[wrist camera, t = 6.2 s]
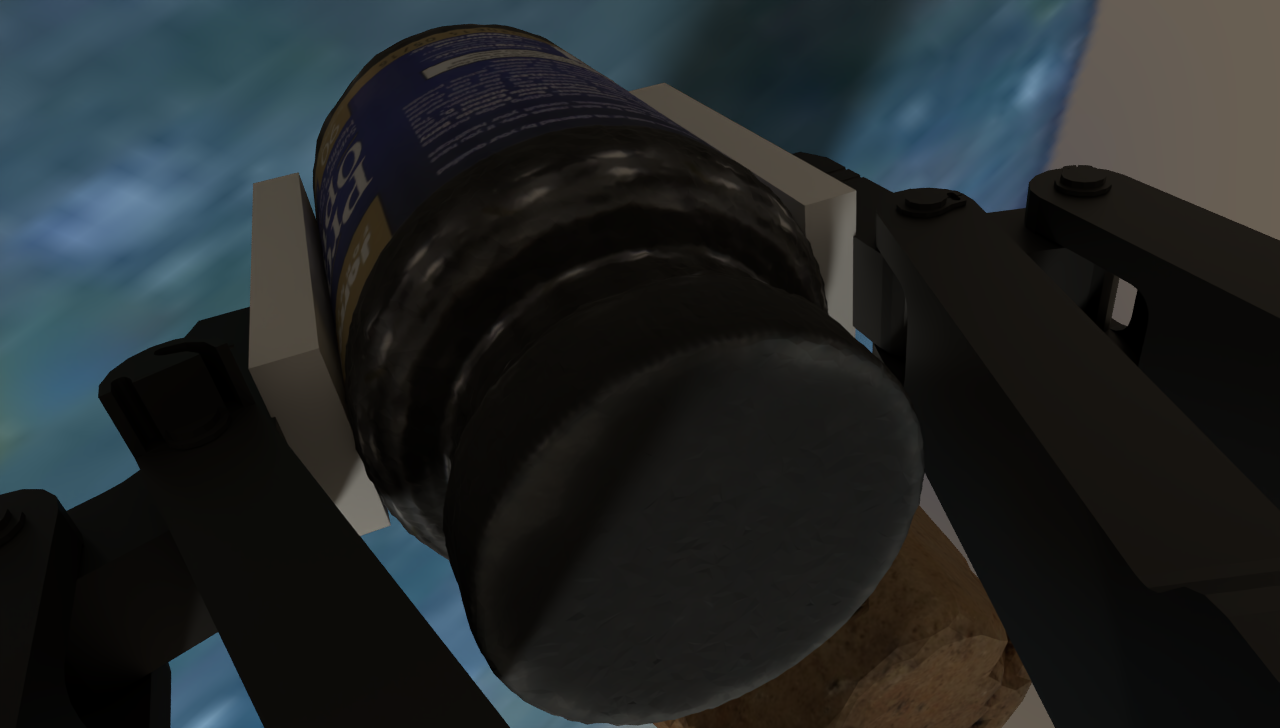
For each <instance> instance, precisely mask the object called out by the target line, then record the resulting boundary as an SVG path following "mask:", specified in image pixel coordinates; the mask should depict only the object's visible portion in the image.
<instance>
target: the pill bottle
mask: <svg viewBox="0 0 1280 728" xmlns="http://www.w3.org/2000/svg"><path fill="white" fill-rule="evenodd" d="M313 192H314V201H315V211H316V221H317V226H318V230H319V236H320V241H321V247H322V254H323V261H324V268H325V274H326V278H327V285H328V290H329V296H330V302H331V309H332V316H333V322H334V327H335V333H336V339H337V345H338V351H339V356H340V363H341V370H342V374H343V379H344V386H345V391H346V399H345V401H346V404H347V407H348V414H349V420H350V423H351V426H352V431H353V436H354V441H355V449H356V451H357V453H358V455H359V456H360V458H361V460H362V462H363V464H364V467H365V471H366V474H367V476H368V478H369V480H370V481H371V482H372V483H373V484H374V487H375V489H376V491H377V493H378V495H379V497H380V499H381V502H382V503H383V504H384V505H385V506H386V507H387V508H388V510H389V511H390V513H391V515H393V516H394V517H396V518H397V519H398V520H399V521H400V522H401V524H402V525H403V527H404V528H405V529H406V530H407V531H408V533H409V534H411V535H414V536H415V537H416V538H417V539H418V540H419V541H420V542H422V543H423V544H425V545H427V546H428V547H429V548H431V549H433V550H434V551H435V552H437V553H438V554H440V555H442V556H443V557H445V558H446V559H448V560H449V561H450V564H451V567H452V570H453V573H454V575H455V578H456V581H457V583H458V585H459V589H460V592H461V597H462V601H463V605H464V609H465V612H466V616H467V619H468V623H469V626H470V629H471V632H472V634H473V636H474V638H475V641H476V643H477V645H478V647H479V649H480V651H481V653H482V655H483V656H484V657H485V659H486V661H487V663H488V665H489V666H490V668H491V670H492V671H493V673H494V674H495V675H496V676H497V677H498V678H499V679H500V680H501V681H502V682H503V683H504V684H505V685H506V686H507V687H508V688H509V689H510V690H511V691H512V692H514V693H515V694H517V695H518V696H519V697H520V698H521V699H522V700H523V701H525V702H527V703H529V704H531V705H533V706H535V707H537V708H539V709H541V710H543V711H545V712H547V713H550V714H552V715H556V716H561V717H564V718H565V719H567V720H570V721H577V722H581V723H584V724H593V723H609V724H613V725H616V726H620V725H642V724H648V723H658V722H663V721H667V720H676V719H678V718H681V717H684V716H687V715H690V714H694V713H699V712H701V711H704V710H706V709H713V708H715V707H718V706H720V705H722V704H724V703H726V702H728V701H730V700H733V699H736V698H739V697H741V696H742V695H744V694H745V693H748V692H750V691H752V690H754V689H756V688H758V687H760V686H761V685H763V684H765V683H767V682H769V681H770V680H772V679H775V678H776V677H778V676H779V675H781V674H782V673H784V672H785V671H786V670H788V669H790V668H791V667H793V666H794V665H796V664H797V663H799V662H800V661H801V660H802V659H804V658H805V657H806V656H808V655H809V654H810V653H811V652H813V651H814V650H815V649H817V648H818V647H819V646H821V645H822V644H823V643H824V642H825V641H826V640H828V639H829V638H830V637H831V636H833V635H834V634H835V633H836V632H837V631H838V630H839V629H840V628H841V627H842V626H843V625H844V624H845V623H846V622H847V621H848V620H849V619H850V618H851V617H852V615H853V614H854V613H855V612H856V611H857V609H858V608H859V607H860V606H861V605H862V604H863V603H864V602H865V601H866V599H867V598H868V597H869V596H870V595H871V594H872V593H873V592H874V590H875V589H876V587H877V585H878V584H879V582H880V581H881V579H882V578H883V577H884V575H885V574H886V572H887V571H888V570H889V568H890V567H891V565H892V563H893V561H894V560H895V558H896V556H897V555H898V553H899V551H900V549H901V547H902V545H903V543H904V541H905V539H906V537H907V534H908V531H909V528H910V525H911V522H912V519H913V516H914V514H915V512H916V510H917V508H918V506H919V504H920V494H921V491H922V482H923V477H924V474H925V472H924V468H925V463H924V452H925V451H924V447H923V443H924V440H923V436H922V432H921V428H920V423H919V420H918V417H917V414H916V411H915V409H914V406H913V403H912V401H911V399H910V397H909V395H908V393H907V392H906V391H905V389H904V387H903V386H902V384H901V382H900V381H899V379H898V378H897V377H896V376H895V375H894V374H893V373H892V372H891V371H890V370H889V369H888V367H887V366H886V365H885V364H884V363H883V362H882V361H881V360H880V359H879V358H877V357H876V356H875V355H874V354H872V353H871V352H870V351H869V350H868V349H867V348H866V347H865V346H864V345H863V344H861V343H860V342H859V341H857V340H856V339H855V338H854V337H853V336H852V335H851V334H850V333H849V332H848V331H847V330H846V329H845V328H844V327H843V326H842V325H841V324H840V323H839V322H837V321H836V320H835V319H833V318H832V317H831V316H829V314H828V304H827V300H826V296H825V289H824V286H825V283H824V281H823V278H822V276H821V273H820V268H819V264H818V262H817V260H816V258H815V257H814V255H813V250H812V247H811V243H810V242H809V240H808V239H807V238H806V236H805V234H804V232H803V231H802V229H801V228H800V226H799V225H798V224H797V223H796V221H795V219H794V217H793V216H792V214H791V212H790V211H789V210H788V208H787V207H786V206H785V205H784V204H783V202H782V201H781V199H780V198H779V197H778V196H777V195H776V194H774V193H773V191H772V190H771V189H770V188H769V187H768V186H766V185H765V184H763V183H762V182H761V181H759V180H758V179H757V178H756V177H755V176H754V174H753V173H752V172H751V171H750V170H749V169H747V168H746V167H744V166H743V165H741V164H740V163H738V162H736V161H735V160H733V159H730V158H728V157H727V156H725V155H723V154H722V153H720V152H719V151H717V150H715V149H714V148H712V147H711V146H709V145H708V144H707V143H705V142H704V141H702V140H700V139H699V138H697V137H696V136H694V135H693V134H691V133H690V132H689V131H687V130H686V129H684V128H682V127H681V126H679V125H678V124H676V123H675V122H673V121H672V120H670V119H669V118H667V117H666V116H664V115H663V114H661V113H659V112H658V111H657V110H655V109H654V108H652V107H651V106H649V105H648V104H647V103H645V102H643V101H642V100H640V99H639V98H637V97H636V96H634V95H632V94H631V93H629V92H628V91H627V90H625V89H624V88H622V87H620V86H619V85H617V84H616V83H615V82H614V81H612V80H610V79H609V78H607V77H606V76H604V75H602V74H601V73H599V72H597V71H596V70H594V69H593V68H591V67H590V66H588V65H586V64H585V63H583V62H582V61H580V60H579V59H577V58H576V57H574V56H573V55H571V54H569V53H568V52H566V51H565V50H563V49H561V48H560V47H558V46H557V45H555V44H554V43H552V42H551V41H549V40H547V39H546V38H543V37H541V36H539V35H535V34H532V33H529V32H526V31H523V30H520V29H517V28H514V27H509V26H502V25H477V24H461V25H452V26H442V27H438V28H434V29H430V30H427V31H425V32H422V33H419V34H416V35H413V36H411V37H408V38H406V39H403V40H401V41H399V42H397V43H396V44H394V45H392V46H391V47H389V48H387V49H386V50H384V51H382V52H380V53H379V54H377V55H375V56H374V57H373V58H372V59H371V60H370V61H369V62H368V63H367V64H366V65H365V66H364V67H363V69H362V70H361V71H360V72H359V74H358V75H357V76H356V77H355V78H354V80H353V81H352V82H351V83H350V84H349V86H348V87H347V89H346V91H345V92H344V94H343V95H342V97H341V98H340V99H339V101H338V102H337V104H336V105H335V107H334V108H333V109H332V111H331V112H330V113H329V115H328V116H327V118H326V119H325V122H324V124H323V126H322V128H321V131H320V133H319V136H318V139H317V144H316V154H315V163H314V169H313Z"/></svg>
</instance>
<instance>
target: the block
mask: <svg viewBox="0 0 1280 728" xmlns="http://www.w3.org/2000/svg"><path fill="white" fill-rule="evenodd" d="M1031 683H1032V681H1031V679H1030V677H1029V675H1028V674H1027V672H1026V670H1025V668H1024V666H1023V664H1022V662H1021V660H1020V658H1019V656H1018V654H1017V652H1016V650H1015V648H1014V646H1013V644H1012V642H1011V640H1010V638H1009V636H1008V634H1007V632H1006V630H1005V628H1004V626H1003V625H1002V623H1001V621H1000V619H999V617H998V615H997V613H996V611H995V609H994V607H993V605H992V603H991V601H990V599H989V597H988V595H987V593H986V591H985V589H984V587H983V585H982V583H981V581H980V579H979V578H978V577H977V576H976V575H975V574H974V573H973V572H972V571H971V570H970V568H969V566H968V563H967V561H966V559H965V558H964V557H963V556H962V554H961V553H960V552H959V551H958V549H957V548H956V547H955V546H954V545H953V543H952V542H951V541H950V540H949V539H948V538H947V536H946V535H945V534H944V533H943V532H942V531H941V530H940V529H939V528H938V527H937V525H936V524H935V523H934V522H933V521H932V520H931V518H930V517H929V516H928V515H927V514H926V513H925V511H924V510H923V509H922V508H921V507H920V506H918V508H917V510H916V512H915V514H914V516H913V519H912V522H911V525H910V528H909V531H908V534H907V537H906V539H905V541H904V543H903V545H902V547H901V549H900V551H899V553H898V555H897V556H896V558H895V560H894V561H893V563H892V565H891V567H890V568H889V570H888V571H887V572H886V574H885V575H884V577H883V578H882V579H881V581H880V582H879V584H878V585H877V587H876V589H875V590H874V592H873V593H872V594H871V595H870V596H869V597H868V598H867V599H866V601H865V602H864V603H863V604H862V605H861V606H860V607H859V608H858V609H857V611H856V612H855V613H854V614H853V615H852V617H851V618H850V619H849V620H848V621H847V622H846V623H845V624H844V625H843V626H842V627H841V628H840V629H839V630H838V631H837V632H836V633H835V634H834V635H833V636H831V637H830V638H829V639H828V640H826V641H825V642H824V643H823V644H822V645H821V646H819V647H818V648H817V649H815V650H814V651H813V652H811V653H810V654H809V655H808V656H806V657H805V658H804V659H802V660H801V661H800V662H799V663H797V664H796V665H794V666H793V667H791V668H790V669H788V670H786V671H785V672H784V673H782V674H781V675H779V676H778V677H776V678H775V679H772V680H770V681H769V682H767V683H765V684H763V685H761V686H760V687H758V688H756V689H754V690H752V691H750V692H748V693H745V694H744V695H742V696H741V697H739V698H736V699H733V700H730V701H728V702H726V703H724V704H722V705H720V706H718V707H715V708H713V709H706V710H704V711H701V712H699V713H694V714H690V715H687V716H684V717H681V718H678V719H676V720H667V721H663V722H658V723H653V724H654V725H655V726H656V727H657V728H1001V727H1002V726H1003V725H1004V724H1005V723H1006V722H1007V720H1008V719H1009V717H1010V716H1011V715H1012V714H1013V712H1014V711H1015V710H1016V709H1017V707H1018V706H1019V705H1020V703H1021V702H1022V701H1023V699H1024V697H1025V695H1026V693H1027V691H1028V689H1029V687H1030V685H1031Z"/></svg>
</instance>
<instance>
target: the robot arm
mask: <svg viewBox="0 0 1280 728" xmlns="http://www.w3.org/2000/svg"><path fill="white" fill-rule="evenodd" d="M629 93H631V94H632V95H634V96H636V97H637V98H639V99H640V100H642V101H643V102H645V103H647V104H648V105H649V106H651V107H652V108H654V109H655V110H657V111H658V112H659V113H661V114H663V115H664V116H666V117H667V118H669V119H670V120H672V121H673V122H675V123H676V124H678V125H679V126H681V127H682V128H684V129H686V130H687V131H689V132H690V133H691V134H693V135H694V136H696V137H697V138H699V139H700V140H702V141H704V142H705V143H707V144H708V145H709V146H711V147H712V148H714V149H715V150H717V151H719V152H720V153H722V154H723V155H725V156H727V157H728V158H730V159H733V160H735V161H736V162H738V163H740V164H741V165H743V166H744V167H746V168H747V169H749V170H750V171H751V172H752V173H753V174H754V176H755V177H756V178H757V179H758V180H759V181H761V182H762V183H763V184H765V185H766V186H768V187H769V188H770V189H771V190H772V191H773V193H774V194H776V195H777V196H778V197H779V198H780V199H781V201H782V202H783V204H784V205H785V206H786V207H787V208H788V210H789V211H790V212H791V214H792V216H793V217H794V219H795V221H796V223H797V224H798V225H799V226H800V228H801V229H802V231H803V232H804V234H805V236H806V238H807V239H808V240H809V242H810V243H811V247H812V250H813V255H814V257H815V258H816V260H817V262H818V264H819V268H820V273H821V276H822V278H823V281H824V283H825V286H824V289H825V296H826V300H827V304H828V314H829V316H831V317H832V318H833V319H835V320H836V321H837V322H839V323H840V324H841V325H842V326H843V327H844V328H845V329H846V330H847V331H848V332H849V333H850V334H851V335H852V336H853V337H854V338H855V328H856V329H857V330H858V331H860V332H861V333H862V334H863V335H865V336H866V337H867V338H868V339H870V340H871V341H872V342H873V352H872V354H874V355H875V356H876V357H877V358H879V359H880V360H881V361H882V362H883V363H884V364H885V365H886V366H887V367H888V369H889V370H890V371H891V372H892V373H893V374H894V375H895V376H896V377H897V378H898V379H899V381H900V382H901V384H902V386H903V387H904V389H905V391H906V392H907V393H908V395H909V397H910V399H911V401H912V403H913V406H914V409H915V411H916V414H917V417H918V420H919V423H920V428H921V432H922V436H923V440H924V443H923V447H924V451H925V452H924V463H925V468H924V472H925V473H926V476H927V478H928V480H929V481H930V483H931V485H932V487H933V489H934V491H935V493H936V495H937V497H938V499H939V501H940V503H941V505H942V507H943V509H944V511H945V512H946V515H947V517H948V519H949V521H950V523H951V525H952V527H953V529H954V530H955V532H956V534H957V536H958V538H959V540H960V542H961V544H962V546H963V548H964V550H965V552H966V554H967V556H968V558H969V560H970V562H971V564H972V566H973V568H974V570H975V571H976V574H977V576H978V578H979V579H980V581H981V583H982V585H983V587H984V589H985V591H986V593H987V595H988V597H989V599H990V601H991V603H992V605H993V607H994V609H995V611H996V613H997V615H998V617H999V619H1000V621H1001V623H1002V625H1003V626H1004V628H1005V630H1006V632H1007V634H1008V636H1009V638H1010V640H1011V642H1012V644H1013V646H1014V648H1015V650H1016V652H1017V654H1018V656H1019V658H1020V660H1021V662H1022V664H1023V666H1024V668H1025V670H1026V672H1027V674H1028V675H1029V677H1030V679H1031V681H1032V683H1033V685H1034V687H1035V689H1036V691H1037V693H1038V695H1039V697H1040V699H1041V701H1042V703H1043V705H1044V707H1045V709H1046V711H1047V713H1048V715H1049V717H1050V718H1051V720H1052V722H1053V724H1054V726H1055V728H1280V240H1277V239H1275V238H1272V237H1270V236H1268V235H1265V234H1263V233H1260V232H1258V231H1255V230H1253V229H1251V228H1248V227H1246V226H1244V225H1242V224H1239V223H1237V222H1234V221H1232V220H1229V219H1227V218H1225V217H1223V216H1220V215H1218V214H1215V213H1213V212H1211V211H1208V210H1206V209H1204V208H1201V207H1199V206H1196V205H1194V204H1192V203H1189V202H1187V201H1185V200H1182V199H1180V198H1177V197H1175V196H1173V195H1170V194H1168V193H1165V192H1163V191H1161V190H1158V189H1156V188H1154V187H1151V186H1149V185H1147V184H1144V183H1142V182H1140V181H1137V180H1135V179H1132V178H1130V177H1128V176H1125V175H1123V174H1119V173H1116V172H1113V171H1109V170H1104V169H1097V168H1093V167H1092V166H1088V165H1078V167H1076V165H1073V166H1064V167H1063V168H1061V169H1055V170H1049V171H1046V172H1044V173H1041V174H1039V175H1036V176H1035V177H1034V178H1033V179H1032V180H1031V181H1030V182H1029V187H1028V195H1027V203H1026V208H1022V209H1015V210H1007V211H999V212H991V213H986V212H985V211H984V210H983V209H982V208H981V207H980V206H979V205H978V204H977V203H976V202H975V201H974V200H973V199H971V198H969V197H968V196H966V195H964V194H963V193H960V192H958V191H952V190H948V189H938V188H917V189H908V190H904V191H899V192H895V193H893V192H891V191H889V190H887V189H885V188H883V187H881V186H880V185H878V184H876V183H874V182H872V181H870V180H868V179H866V178H865V177H862V178H861V177H860V175H859V174H857V173H855V172H853V171H851V170H850V169H847V170H846V169H845V167H844V166H842V165H840V164H838V163H836V162H835V161H833V160H831V159H829V158H827V157H822V156H818V155H813V154H808V153H803V152H798V153H794V154H790V153H789V152H787V151H785V150H783V149H782V148H780V147H778V146H776V145H774V144H773V143H771V142H769V141H767V140H766V139H764V138H762V137H760V136H758V135H757V134H755V133H753V132H751V131H750V130H748V129H746V128H744V127H742V126H741V125H739V124H737V123H735V122H734V121H732V120H730V119H728V118H726V117H725V116H723V115H721V114H719V113H718V112H716V111H714V110H712V109H710V108H709V107H707V106H705V105H703V104H702V103H700V102H698V101H696V100H694V99H693V98H691V97H689V96H687V95H686V94H684V93H682V92H680V91H678V90H677V89H675V88H673V87H671V86H670V85H668V84H666V83H662V84H657V85H653V86H649V87H645V88H641V89H637V90H633V91H629ZM1119 278H1121V279H1123V280H1124V281H1126V282H1128V283H1130V284H1132V285H1133V286H1134V287H1135V288H1137V289H1138V290H1137V295H1136V299H1135V304H1134V309H1133V313H1132V318H1131V320H1130V323H1129V325H1128V326H1125V325H1122V324H1120V323H1119V322H1117V321H1115V320H1114V319H1112V312H1113V308H1114V302H1115V298H1116V293H1117V288H1118V283H1119ZM98 398H99V399H100V401H101V403H102V404H103V406H104V408H105V409H106V411H107V413H108V414H109V416H110V418H111V419H112V421H113V423H114V424H115V426H116V428H117V429H118V431H119V433H120V434H121V436H122V438H123V439H124V441H125V443H126V444H127V446H128V448H129V449H130V451H131V453H132V454H133V456H134V458H135V460H136V462H137V464H138V466H139V468H140V470H139V471H138V472H136V473H135V474H134V475H132V476H131V477H129V478H128V479H127V480H125V481H124V482H122V483H120V484H118V485H117V486H115V487H113V488H111V489H110V490H108V491H106V492H104V493H102V494H100V495H98V496H96V497H94V498H92V499H90V500H88V501H86V502H84V503H82V504H80V505H78V506H76V507H74V508H72V509H70V510H68V511H66V510H65V509H64V507H63V506H62V504H61V503H60V501H59V500H58V499H57V497H56V496H55V495H53V494H51V493H49V492H47V491H45V490H43V489H22V490H18V491H14V492H9V493H5V494H1V495H0V728H170V717H171V670H170V666H169V663H168V662H169V661H171V660H172V659H174V658H176V657H177V656H179V655H181V654H182V653H184V652H186V651H187V650H189V649H191V648H192V647H194V646H196V645H197V644H199V643H201V642H202V641H204V640H205V639H207V638H209V637H210V636H212V635H214V634H215V633H217V632H219V634H220V636H221V639H222V641H223V643H224V645H225V647H226V649H227V651H228V653H229V655H230V657H231V659H232V661H233V664H234V666H235V668H236V670H237V672H238V674H239V676H240V678H241V680H242V682H243V684H244V686H245V689H246V691H247V693H248V695H249V697H250V699H251V701H252V703H253V705H254V707H255V709H256V711H257V713H258V716H259V718H260V720H261V722H262V724H263V726H264V728H510V727H509V726H508V724H507V723H506V722H505V720H504V719H503V718H502V717H501V715H500V714H499V713H498V711H497V710H496V709H495V708H494V706H493V705H492V704H491V703H490V701H489V700H488V699H487V697H486V696H485V695H484V694H483V692H482V691H481V690H480V689H479V687H478V686H477V685H476V683H475V682H474V681H473V680H472V678H471V677H470V676H469V675H468V673H467V672H466V671H465V669H464V668H463V667H462V666H461V664H460V663H459V662H458V660H457V659H456V658H455V657H454V655H453V654H452V653H451V652H450V650H449V649H448V648H447V646H446V645H445V644H444V643H443V641H442V640H441V639H440V638H439V636H438V635H437V634H436V632H435V631H434V630H433V629H432V627H431V626H430V625H429V624H428V622H427V621H426V620H425V618H424V617H423V616H422V615H421V613H420V612H419V611H418V609H417V608H416V607H415V606H414V604H413V603H412V602H411V601H410V599H409V598H408V597H407V595H406V594H405V593H404V592H403V590H402V589H401V588H400V587H399V585H398V584H397V583H396V581H395V580H394V579H393V578H392V576H391V575H390V574H389V573H388V571H387V570H386V569H385V567H384V566H383V565H382V564H381V562H380V561H379V560H378V558H377V557H376V556H375V555H374V553H373V552H372V551H371V550H370V548H369V547H368V546H367V544H366V543H365V542H364V541H363V539H362V538H361V537H360V536H361V535H364V534H367V533H370V532H373V531H376V530H379V529H381V528H384V527H387V526H390V520H389V514H388V509H387V507H386V506H385V505H384V504H383V503H382V502H381V499H380V497H379V495H378V493H377V491H376V489H375V487H374V484H373V483H372V482H371V481H370V480H369V478H368V476H367V474H366V471H365V467H364V464H363V462H362V460H361V458H360V456H359V455H358V453H357V451H356V449H355V441H354V436H353V431H352V426H351V423H350V420H349V414H348V407H347V404H346V401H345V399H346V391H345V386H344V379H343V374H342V370H341V363H340V356H339V351H338V345H337V339H336V333H335V327H334V322H333V316H332V309H331V302H330V296H329V290H328V285H327V278H326V274H325V268H324V261H323V254H322V247H321V241H320V236H319V230H318V226H317V221H316V219H315V216H314V213H313V210H312V208H311V205H310V202H309V200H308V197H307V194H306V192H305V189H304V186H303V183H302V181H301V178H300V175H299V173H294V174H290V175H286V176H282V177H278V178H274V179H270V180H266V181H262V182H258V183H253V214H252V252H251V291H250V307H247V308H243V309H240V310H236V311H233V312H229V313H225V314H222V315H218V316H215V317H211V318H207V319H204V320H200V321H198V322H197V324H196V325H195V326H194V327H193V328H192V329H191V331H190V332H189V333H188V334H187V335H186V336H185V337H184V338H180V339H175V340H172V341H168V342H165V343H162V344H159V345H156V346H153V347H150V348H148V349H146V350H144V351H142V352H140V353H138V354H136V355H134V356H132V357H130V358H128V359H127V360H125V361H124V362H123V363H121V364H120V365H119V366H117V367H116V368H114V369H113V370H112V371H110V372H109V373H108V375H107V376H106V377H105V379H104V380H103V381H102V382H101V384H100V385H99V394H98Z"/></svg>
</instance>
